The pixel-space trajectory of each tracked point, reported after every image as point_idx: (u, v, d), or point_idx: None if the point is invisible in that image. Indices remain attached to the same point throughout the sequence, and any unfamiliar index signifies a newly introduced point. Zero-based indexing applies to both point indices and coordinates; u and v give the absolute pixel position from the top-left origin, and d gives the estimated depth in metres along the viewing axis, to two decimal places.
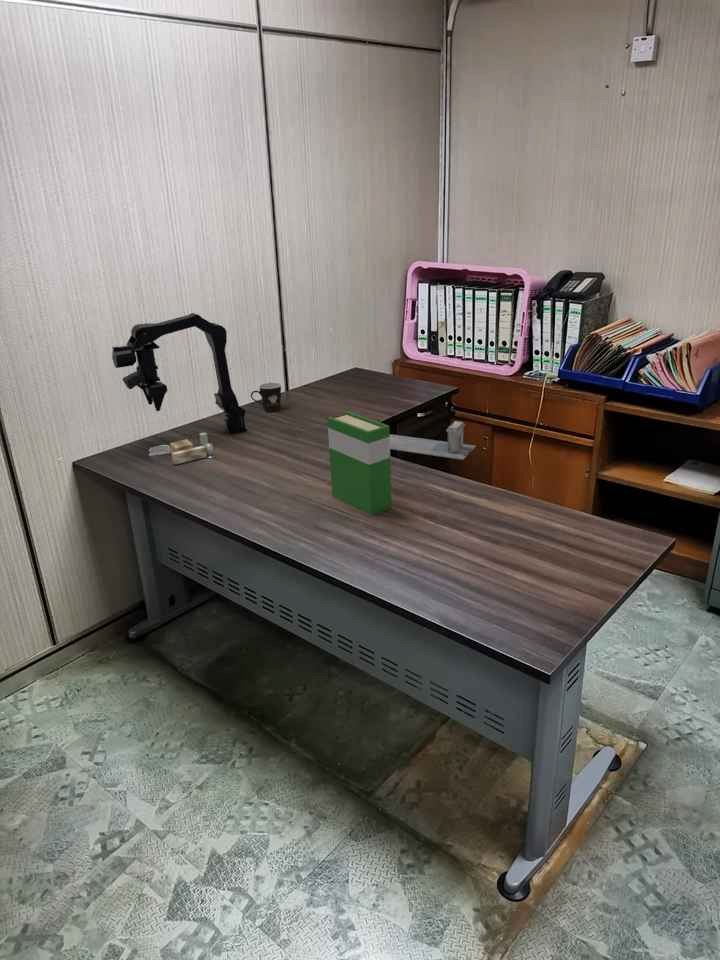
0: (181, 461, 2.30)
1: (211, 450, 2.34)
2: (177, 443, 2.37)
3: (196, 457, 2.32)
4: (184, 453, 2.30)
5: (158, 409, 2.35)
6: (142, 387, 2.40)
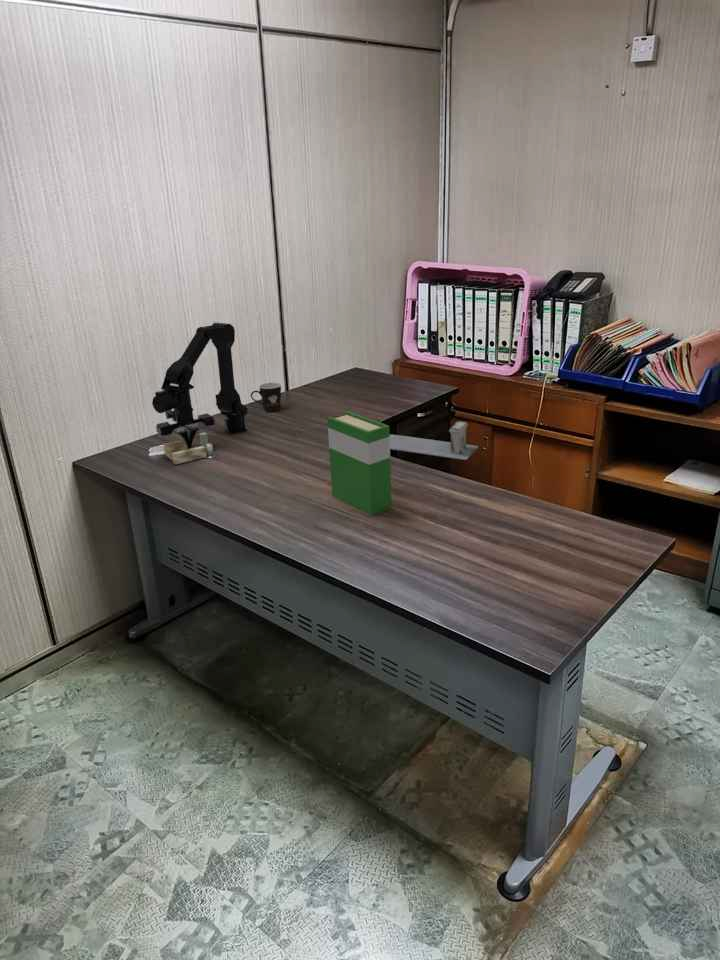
0: (181, 461, 2.30)
1: (211, 450, 2.34)
2: (171, 444, 2.36)
3: (196, 457, 2.32)
4: (184, 453, 2.30)
5: (187, 446, 2.38)
6: (186, 429, 2.38)
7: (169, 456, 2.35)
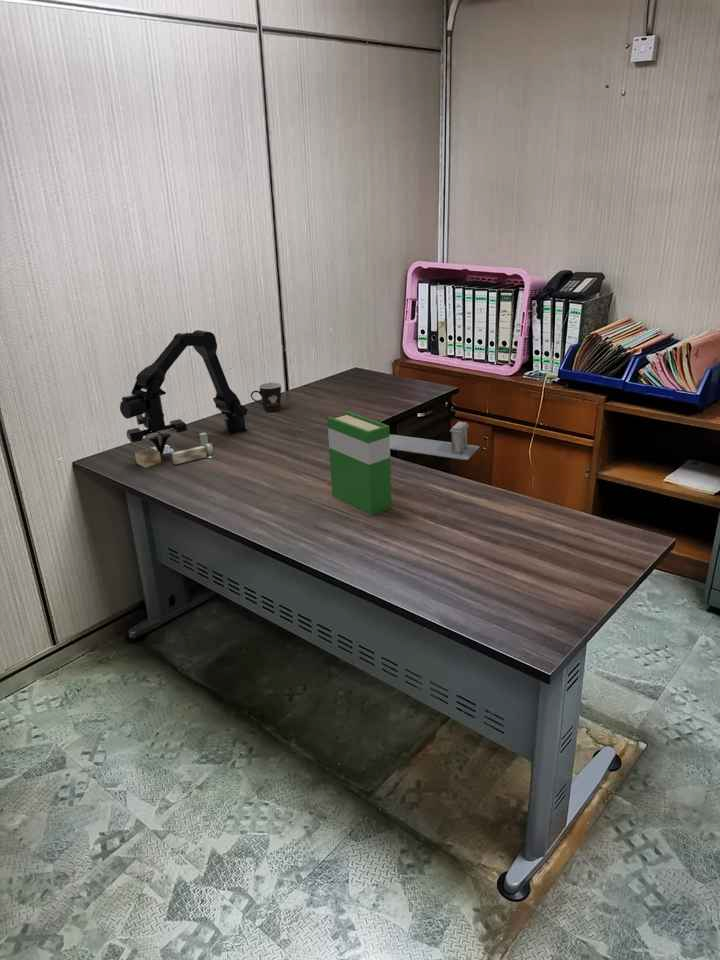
0: (181, 461, 2.30)
1: (211, 450, 2.34)
2: (142, 452, 2.31)
3: (196, 457, 2.32)
4: (184, 453, 2.30)
5: None
6: (158, 435, 2.33)
7: (142, 465, 2.29)
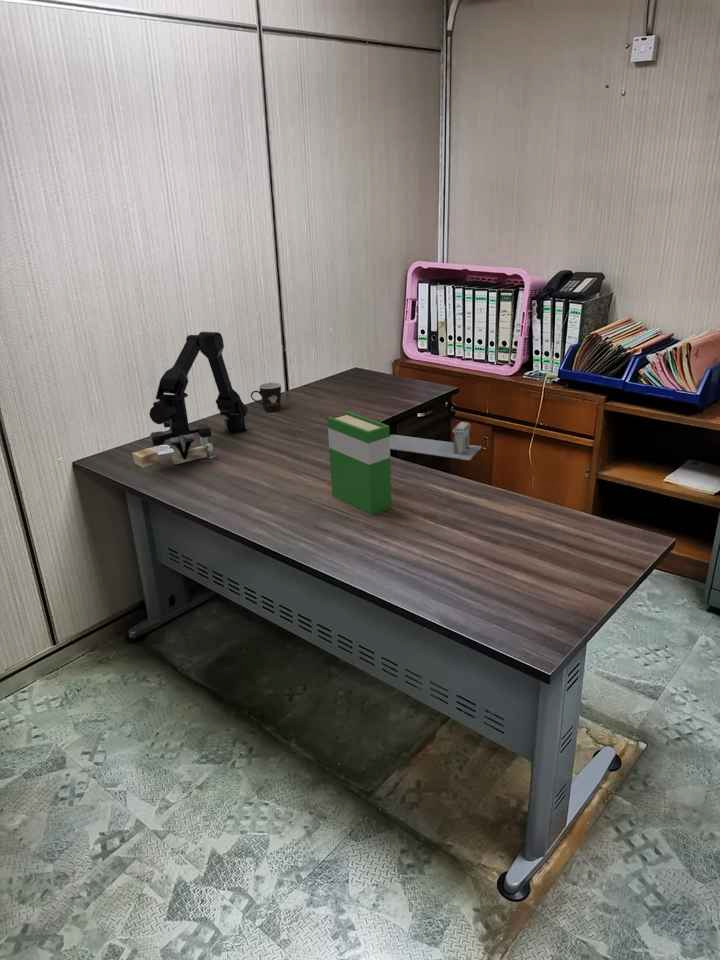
0: (181, 461, 2.30)
1: (211, 450, 2.34)
2: (140, 452, 2.31)
3: (196, 457, 2.32)
4: None
5: None
6: (183, 439, 2.28)
7: (140, 465, 2.29)
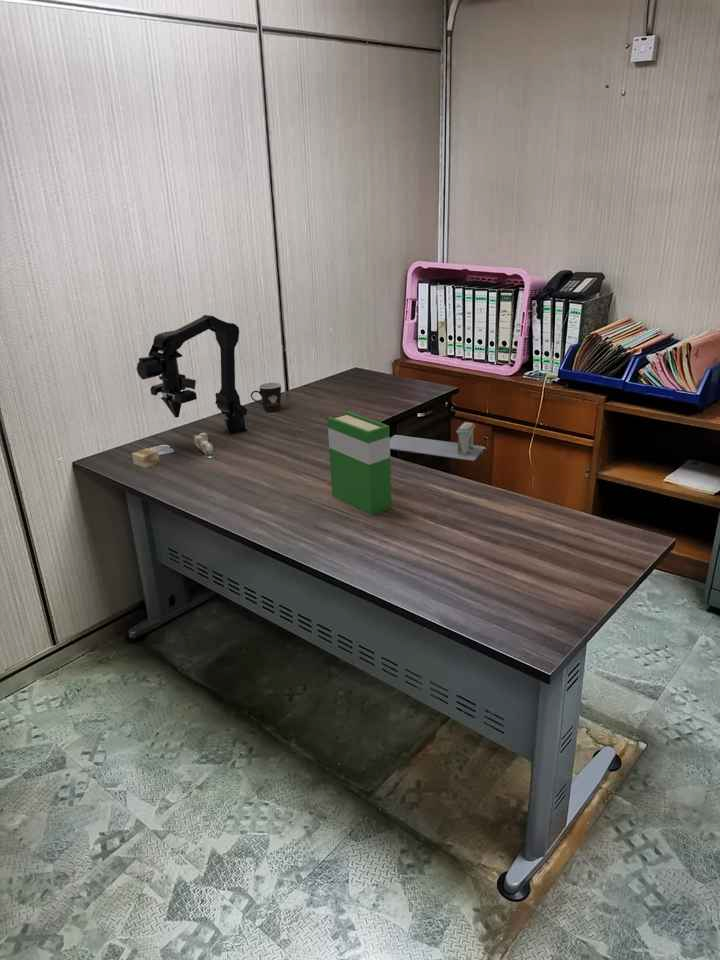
0: (197, 445, 2.43)
1: (211, 450, 2.34)
2: (140, 452, 2.31)
3: (202, 449, 2.39)
4: (197, 439, 2.41)
5: None
6: None
7: (141, 465, 2.29)
